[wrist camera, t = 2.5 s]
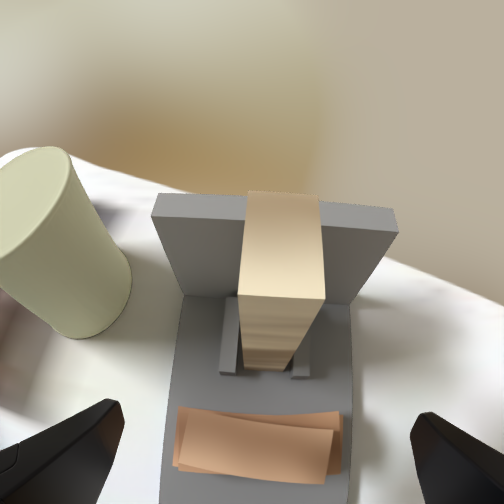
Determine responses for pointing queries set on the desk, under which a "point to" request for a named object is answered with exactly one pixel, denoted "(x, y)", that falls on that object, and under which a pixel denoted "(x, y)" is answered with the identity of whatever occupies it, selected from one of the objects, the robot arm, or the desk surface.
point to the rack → (230, 343)
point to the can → (58, 247)
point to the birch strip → (279, 276)
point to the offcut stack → (259, 445)
